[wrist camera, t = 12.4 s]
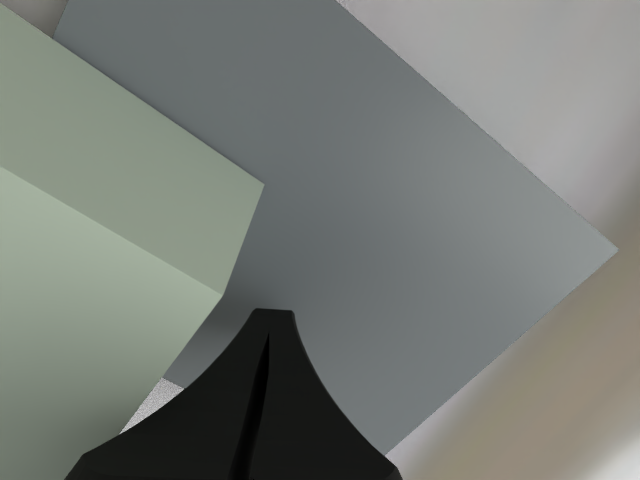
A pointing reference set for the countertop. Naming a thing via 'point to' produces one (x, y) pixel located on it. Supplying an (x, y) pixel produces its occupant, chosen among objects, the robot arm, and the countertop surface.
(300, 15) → the plate
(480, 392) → the countertop surface
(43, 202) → the block
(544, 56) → the countertop surface
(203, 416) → the robot arm
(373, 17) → the countertop surface
